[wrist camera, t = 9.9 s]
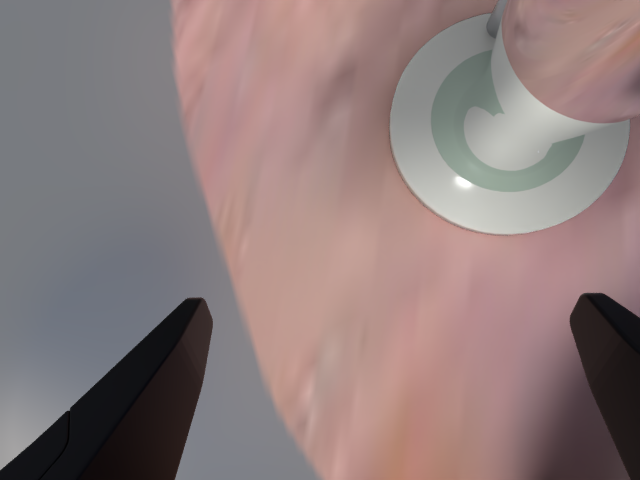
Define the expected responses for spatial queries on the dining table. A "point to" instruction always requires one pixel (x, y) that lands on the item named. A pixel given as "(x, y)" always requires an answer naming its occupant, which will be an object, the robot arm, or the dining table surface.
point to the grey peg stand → (464, 178)
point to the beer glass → (550, 82)
